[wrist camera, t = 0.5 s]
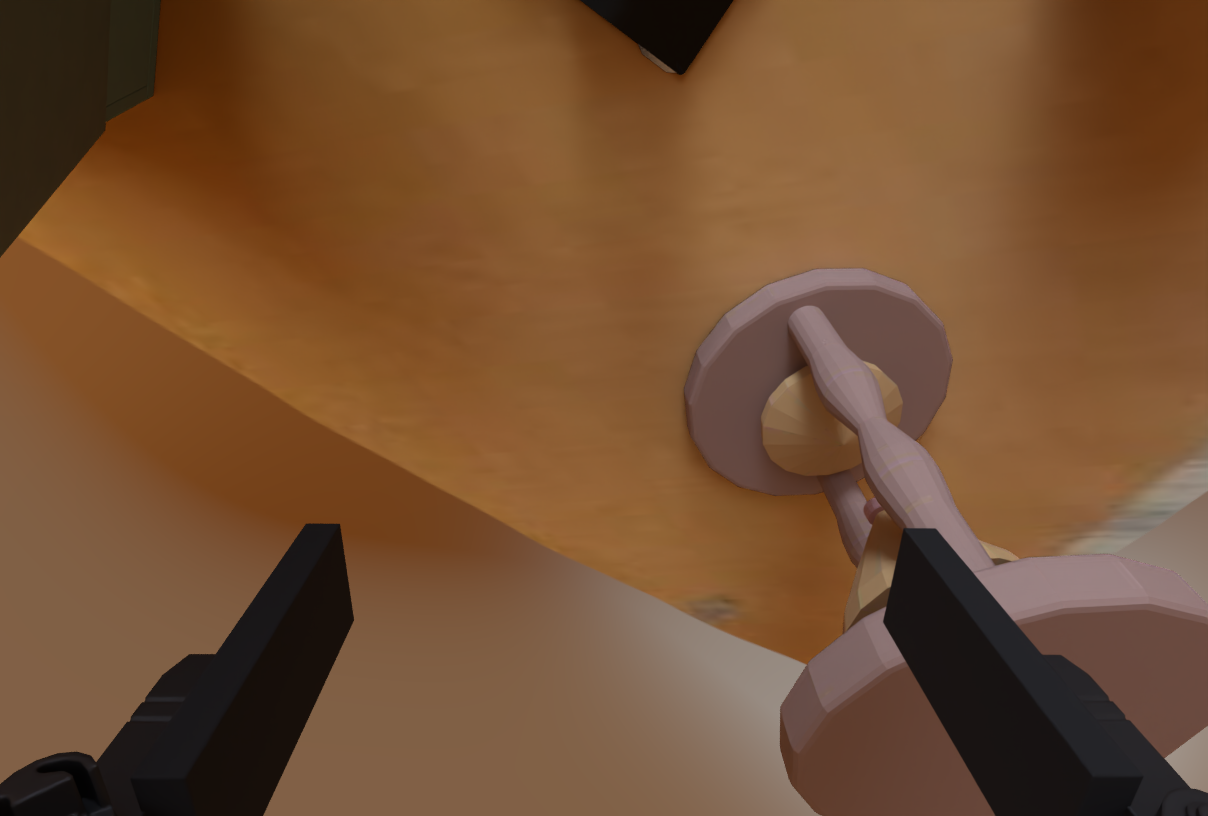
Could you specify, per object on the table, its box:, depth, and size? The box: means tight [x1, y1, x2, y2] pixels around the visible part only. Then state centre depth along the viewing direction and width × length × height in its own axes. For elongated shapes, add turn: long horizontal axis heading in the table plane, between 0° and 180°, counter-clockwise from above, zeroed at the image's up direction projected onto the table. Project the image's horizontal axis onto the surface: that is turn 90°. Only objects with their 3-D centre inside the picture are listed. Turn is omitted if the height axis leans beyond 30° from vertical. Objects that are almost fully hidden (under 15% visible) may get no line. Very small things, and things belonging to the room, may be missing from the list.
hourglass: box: [684, 269, 1208, 816], centre depth 38 cm, size 18×18×25 cm
